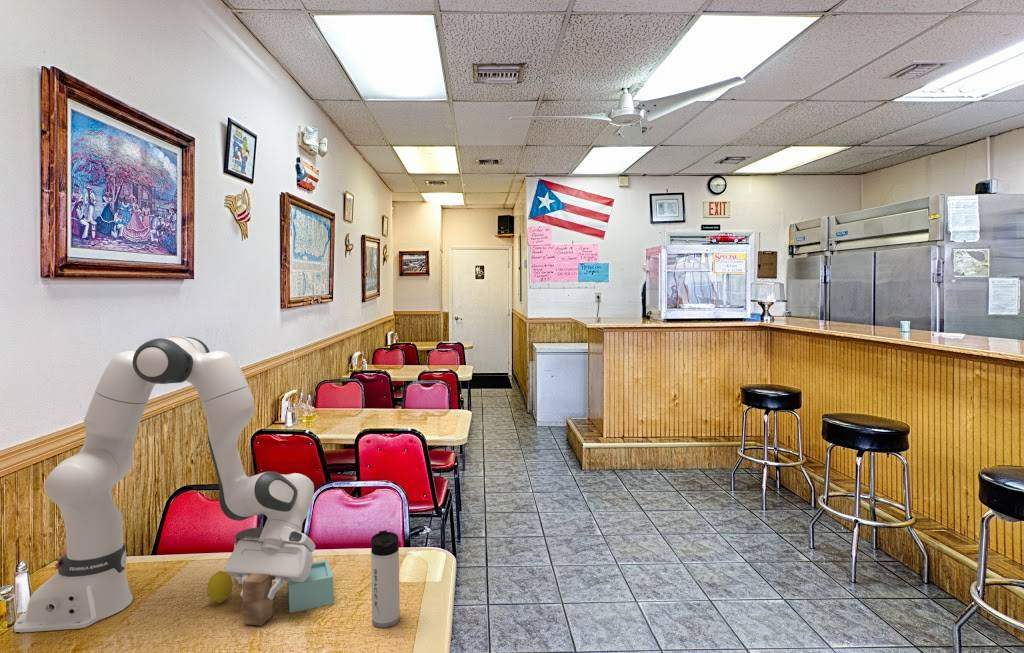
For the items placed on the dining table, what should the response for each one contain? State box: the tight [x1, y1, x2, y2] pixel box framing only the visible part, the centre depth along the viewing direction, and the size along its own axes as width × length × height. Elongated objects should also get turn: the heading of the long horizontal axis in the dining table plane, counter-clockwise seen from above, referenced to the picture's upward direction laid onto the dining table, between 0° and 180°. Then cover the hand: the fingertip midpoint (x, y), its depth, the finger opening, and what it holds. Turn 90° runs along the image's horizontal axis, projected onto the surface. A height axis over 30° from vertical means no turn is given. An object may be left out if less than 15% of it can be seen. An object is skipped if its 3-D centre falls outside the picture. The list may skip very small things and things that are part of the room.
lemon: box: [206, 570, 233, 604], centre depth 140 cm, size 6×6×8 cm
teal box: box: [287, 559, 334, 614], centre depth 142 cm, size 10×10×7 cm
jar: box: [233, 527, 264, 585], centre depth 153 cm, size 9×8×12 cm
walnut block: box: [242, 573, 274, 626], centre depth 132 cm, size 4×4×10 cm
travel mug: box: [370, 530, 401, 629], centre depth 132 cm, size 6×7×20 cm
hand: (256, 597), depth 131 cm, fingers closed on walnut block, 4 cm apart
